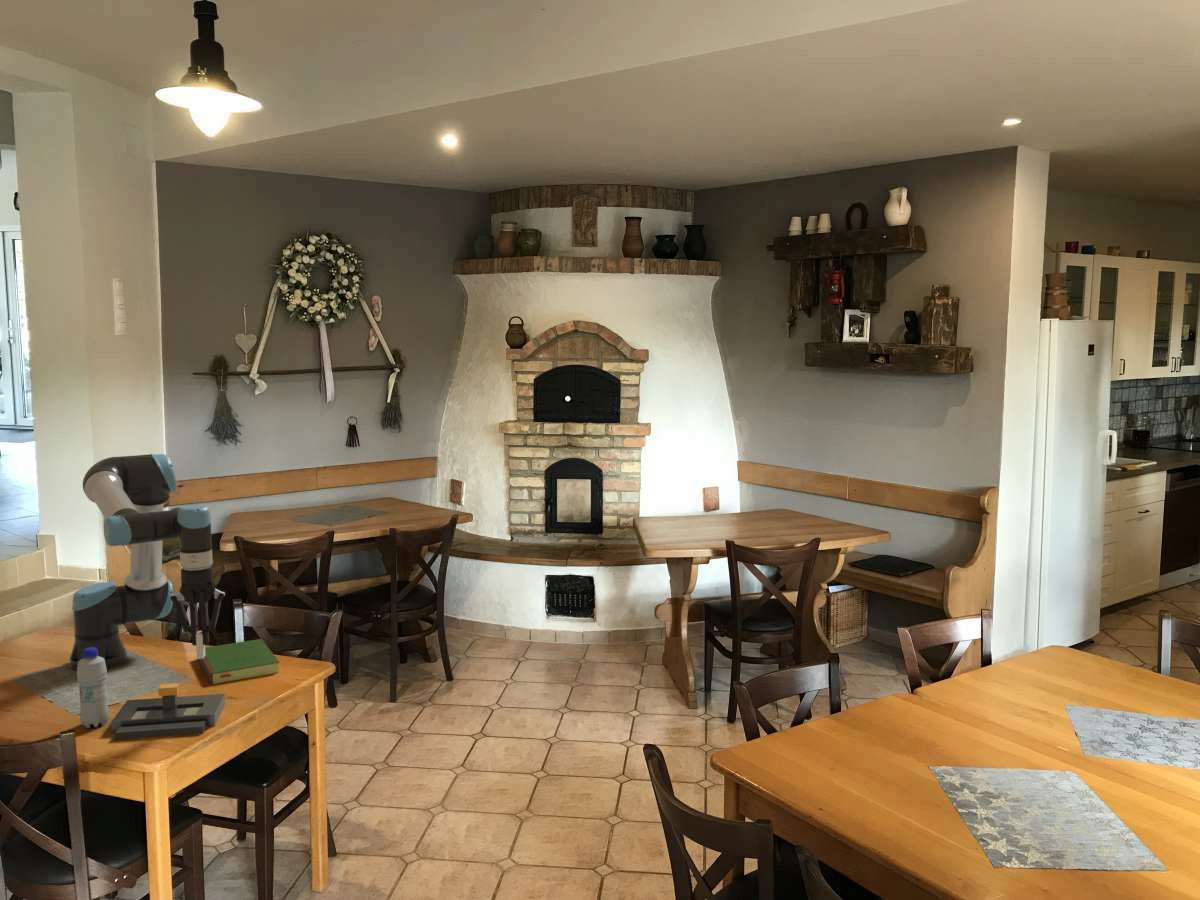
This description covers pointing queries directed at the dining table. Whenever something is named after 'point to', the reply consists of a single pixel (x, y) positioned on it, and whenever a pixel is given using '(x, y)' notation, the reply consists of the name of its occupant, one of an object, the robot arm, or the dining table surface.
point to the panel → (170, 711)
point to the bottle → (92, 688)
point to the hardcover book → (238, 661)
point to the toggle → (169, 695)
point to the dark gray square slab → (160, 730)
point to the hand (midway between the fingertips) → (201, 657)
